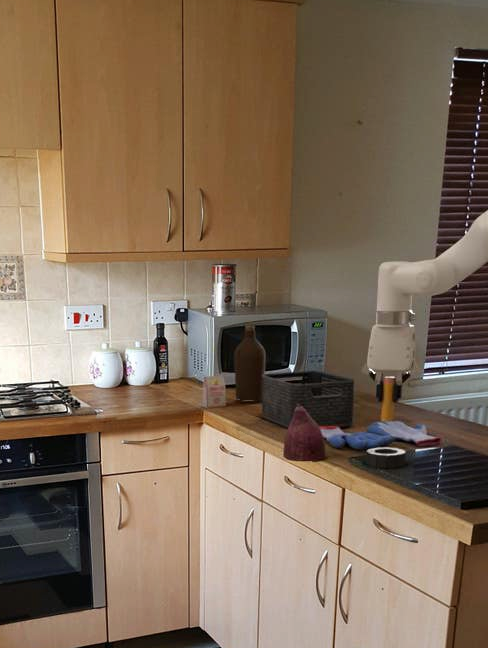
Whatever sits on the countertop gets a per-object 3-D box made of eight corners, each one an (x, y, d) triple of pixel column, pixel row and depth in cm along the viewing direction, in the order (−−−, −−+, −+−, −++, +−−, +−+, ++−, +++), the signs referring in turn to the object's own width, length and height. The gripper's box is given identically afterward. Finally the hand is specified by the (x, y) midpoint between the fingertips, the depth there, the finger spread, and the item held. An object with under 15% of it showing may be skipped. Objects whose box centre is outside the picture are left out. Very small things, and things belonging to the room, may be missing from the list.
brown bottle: (260, 404, 293) (261, 327, 285) (230, 403, 297) (230, 327, 289) (268, 399, 302) (269, 324, 294) (239, 398, 306) (239, 324, 298)
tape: (407, 461, 209) (408, 448, 208) (400, 469, 202) (401, 456, 201) (370, 458, 213) (371, 446, 212) (362, 466, 205) (363, 454, 204)
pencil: (394, 419, 204) (397, 376, 201) (392, 421, 202) (394, 378, 199) (382, 419, 206) (384, 376, 202) (379, 421, 203) (382, 377, 200)
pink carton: (202, 406, 293) (202, 376, 289) (221, 404, 294) (221, 374, 291) (206, 408, 289) (206, 377, 286) (225, 406, 291) (225, 376, 288)
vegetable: (302, 476, 211) (297, 419, 203) (275, 463, 219) (269, 408, 211) (335, 459, 215) (331, 403, 207) (308, 447, 223) (303, 393, 215)
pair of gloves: (401, 427, 249) (402, 414, 247) (459, 443, 226) (460, 429, 225) (302, 438, 238) (302, 424, 237) (352, 456, 216) (353, 441, 214)
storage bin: (258, 416, 271) (258, 372, 267) (316, 412, 276) (317, 369, 272) (294, 432, 245) (295, 384, 241) (357, 427, 250) (359, 380, 245)
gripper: (433, 318, 196) (427, 400, 202) (360, 317, 203) (357, 397, 209) (427, 320, 190) (421, 405, 196) (353, 320, 196) (349, 402, 202)
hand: (388, 400), depth 202 cm, fingers closed on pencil, 2 cm apart
